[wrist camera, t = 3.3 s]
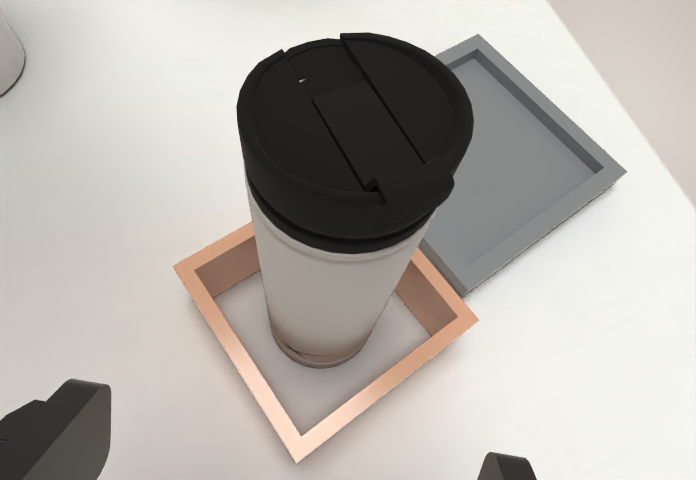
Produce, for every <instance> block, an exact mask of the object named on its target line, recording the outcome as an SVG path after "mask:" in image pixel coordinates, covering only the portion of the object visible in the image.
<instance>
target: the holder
mask: <svg viewBox="0 0 696 480" xmlns="http://www.w3.org/2000/svg"><path fill="white" fill-rule="evenodd" d="M173 268H174V270H175V271H176V273H177V275H178V276H179V278H180V280H181V281H182V283H183V284H184V286H185V288H186V289H187V291H188V293H189V294H190V296H191V298H192V299H193V301H194V302H195V304H196V306H197V307H198V309H199V310H200V312H201V314H202V315H203V317H204V318H205V320H206V322H207V323H208V325H209V326H210V328H211V329H212V331H213V333H214V334H215V336H216V337H217V339H218V341H219V342H220V344H221V345H222V347H223V349H224V350H225V352H226V353H227V355H228V356H229V358H230V360H231V361H232V363H233V364H234V366H235V368H236V369H237V371H238V372H239V374H240V376H241V377H242V379H243V380H244V382H245V383H246V385H247V387H248V388H249V390H250V391H251V393H252V395H253V396H254V398H255V399H256V401H257V403H258V404H259V406H260V407H261V409H262V410H263V412H264V414H265V415H266V417H267V418H268V420H269V422H270V423H271V425H272V426H273V428H274V429H275V431H276V433H277V434H278V436H279V437H280V439H281V441H282V442H283V444H284V445H285V447H286V449H287V450H288V452H289V453H290V455H291V456H292V458H293V460H294V461H295V463H296V464H298V463H299V462H300V461H302V460H303V459H304V458H305V457H307V456H308V455H309V454H310V453H312V452H313V451H314V450H316V449H317V448H318V447H319V446H321V445H322V444H323V443H324V442H326V441H327V440H328V439H330V438H331V437H332V436H333V435H335V434H336V433H337V432H339V431H340V430H341V429H342V428H344V427H345V426H346V425H347V424H349V423H350V422H351V421H353V420H354V419H355V418H356V417H358V416H359V415H360V414H361V413H363V412H364V411H365V410H367V409H368V408H369V407H370V406H372V405H373V404H374V403H376V402H377V401H378V400H379V399H381V398H382V397H383V396H384V395H386V394H387V393H388V392H390V391H391V390H392V389H393V388H395V387H396V386H397V385H398V384H400V383H401V382H402V381H404V380H405V379H406V378H407V377H409V376H410V375H411V374H412V373H414V372H415V371H416V370H418V369H419V368H420V367H421V366H423V365H424V364H425V363H427V362H428V361H429V360H430V359H432V358H433V357H434V356H435V355H437V354H438V353H439V352H441V351H442V350H443V349H444V348H446V347H447V346H448V345H449V344H451V343H452V342H453V341H454V340H456V339H457V338H458V337H459V336H461V335H462V334H463V333H464V332H465V331H467V330H468V329H469V328H470V327H472V326H473V325H474V324H475V323H476V322H478V321H479V319H478V318H477V317H476V316H475V315H474V313H473V312H472V311H471V310H470V309H469V307H468V306H467V305H466V304H465V303H464V302H463V300H462V299H461V298H460V297H459V296H458V294H457V293H456V292H455V291H454V290H453V288H452V287H451V286H450V285H449V284H448V283H447V281H446V280H445V279H444V278H443V277H442V275H441V274H440V273H439V272H438V271H437V269H436V268H435V267H434V266H433V265H432V264H431V262H430V261H429V260H428V259H427V258H426V256H425V255H424V254H423V253H422V252H421V250H420V249H419V248H418V247H417V249H416V250H415V252H414V254H413V256H412V258H411V260H410V261H409V263H408V265H407V267H406V269H405V271H404V272H403V274H402V276H401V278H400V280H399V282H398V284H397V285H396V287H395V289H394V290H395V291H396V292H397V294H398V295H399V296H400V297H401V299H402V300H403V301H404V302H405V304H406V305H407V306H408V308H409V309H410V310H411V311H412V313H413V314H414V315H415V316H416V318H417V319H418V320H419V321H420V323H421V324H422V325H423V326H424V328H425V329H426V330H427V331H428V333H429V334H430V335H431V336H432V337H431V338H430V339H428V340H427V341H426V342H424V343H423V344H422V345H420V346H419V347H418V348H417V349H415V350H414V351H413V352H411V353H410V354H409V355H407V356H406V357H405V358H403V359H402V360H401V361H400V362H398V363H397V364H396V365H394V366H393V367H392V368H390V369H389V370H388V371H386V372H385V373H384V374H383V375H381V376H380V377H379V378H377V379H376V380H375V381H373V382H372V383H371V384H369V385H368V386H367V387H366V388H364V389H363V390H362V391H360V392H359V393H358V394H356V395H355V396H354V397H352V398H351V399H350V400H349V401H347V402H346V403H345V404H343V405H342V406H341V407H339V408H338V409H337V410H335V411H334V412H333V413H332V414H330V415H329V416H328V417H326V418H325V419H324V420H322V421H321V422H320V423H318V424H317V425H316V426H314V427H313V428H312V429H311V430H309V431H308V432H307V433H305V434H304V435H303V436H301V435H300V434H299V432H298V430H297V429H296V427H295V426H294V424H293V423H292V421H291V420H290V418H289V417H288V415H287V413H286V412H285V410H284V409H283V407H282V406H281V404H280V403H279V401H278V399H277V398H276V396H275V395H274V393H273V392H272V390H271V389H270V387H269V386H268V384H267V382H266V381H265V379H264V378H263V376H262V375H261V373H260V372H259V370H258V369H257V367H256V365H255V364H254V362H253V361H252V359H251V358H250V356H249V355H248V353H247V351H246V350H245V348H244V347H243V345H242V344H241V342H240V341H239V339H238V338H237V336H236V334H235V333H234V331H233V330H232V328H231V327H230V325H229V324H228V322H227V320H226V319H225V317H224V316H223V314H222V313H221V311H220V310H219V308H218V307H217V305H216V303H215V302H214V300H213V298H214V297H216V296H218V295H219V294H221V293H223V292H224V291H226V290H227V289H229V288H231V287H232V286H234V285H236V284H237V283H239V282H241V281H242V280H244V279H246V278H247V277H249V276H251V275H252V274H254V273H256V272H257V271H259V270H260V269H261V268H260V262H259V257H258V251H257V245H256V239H255V234H254V228H253V222H250V223H248V224H247V225H245V226H243V227H241V228H240V229H238V230H236V231H234V232H232V233H231V234H229V235H227V236H225V237H224V238H222V239H220V240H218V241H217V242H215V243H213V244H211V245H209V246H208V247H206V248H204V249H202V250H201V251H199V252H197V253H195V254H194V255H192V256H190V257H188V258H186V259H185V260H183V261H181V262H179V263H178V264H176V265H174V266H173Z"/></svg>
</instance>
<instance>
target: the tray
mask: <svg viewBox="0 0 696 480" xmlns="http://www.w3.org/2000/svg"><path fill="white" fill-rule="evenodd" d="M434 57H435V58H437V59H438V60H440V61H441V62H442V63H444V64H445V65H446V66H447V67H448V68H449V69H450V70H451V71H452V72H453V73H454V74H455V75H456V77H457V78H458V79H459V81H460V82H461V84H462V85H463V86H464V88H465V90H466V92H467V94H468V97H469V99H470V101H471V104H472V110H473V116H474V127H473V135H472V139H471V142H470V144H469V146H468V149H467V151H466V153H465V155H464V157H463V159H462V161H461V163H460V165H459V166H458V168H457V170H456V172H455V174H454V176H453V178H454V183H455V185H454V188H453V190H452V192H451V194H450V196H449V197H448V199H447V200H445V201H444V202H443V203H442V204H441V205H440V206H439V207H438V209H437V212H436V214H435V216H434V217H433V219H432V220H431V222H430V224H429V227H428V228H427V230H426V232H425V234H424V236H423V238H422V239H421V241H420V243H419V245H418V248H419V249H420V250H421V252H422V253H423V254H424V255H425V256H426V258H427V259H428V260H429V261H430V262H431V264H432V265H433V266H434V267H435V268H436V269H437V271H438V272H439V273H440V274H441V275H442V277H443V278H444V279H445V280H446V281H447V283H448V284H449V285H450V286H451V287H452V288H453V290H454V291H455V292H456V293H457V294H458V296H459V297H460V298H463V297H464V296H465V295H467V294H468V293H469V292H471V291H472V290H473V289H475V288H476V287H477V286H479V285H480V284H481V283H483V282H484V281H485V280H487V279H488V278H489V277H491V276H492V275H493V274H495V273H496V272H497V271H499V270H500V269H501V268H503V267H504V266H505V265H507V264H508V263H509V262H511V261H512V260H513V259H515V258H516V257H517V256H519V255H520V254H522V253H523V252H524V251H526V250H527V249H528V248H530V247H531V246H532V245H534V244H535V243H536V242H538V241H539V240H540V239H542V238H543V237H544V236H546V235H547V234H548V233H550V232H551V231H552V230H554V229H555V228H556V227H558V226H559V225H560V224H562V223H563V222H564V221H566V220H567V219H568V218H570V217H571V216H572V215H574V214H575V213H576V212H578V211H579V210H580V209H582V208H583V207H584V206H586V205H587V204H588V203H590V202H591V201H592V200H594V199H595V198H596V197H598V196H599V195H600V194H602V193H603V192H604V191H606V190H607V189H608V188H610V187H611V186H612V185H613V184H614V183H615V182H616V181H618V180H619V179H620V178H621V177H622V176H623V175H624V174H625V173H626V172H627V171H626V170H625V169H624V168H623V167H622V166H620V165H619V164H618V163H617V162H616V161H615V160H614V159H613V158H612V157H611V156H610V155H609V154H607V153H606V152H605V151H604V150H603V149H602V148H601V147H600V146H599V145H598V144H597V143H596V142H595V141H593V140H592V139H591V138H590V137H589V136H588V135H587V134H586V133H585V132H584V131H583V130H582V129H581V128H579V127H578V126H577V125H576V124H575V123H574V122H573V121H572V120H571V119H570V118H569V117H568V116H566V115H565V114H564V113H563V112H562V111H561V110H560V109H559V108H558V107H557V106H556V105H555V104H554V103H552V102H551V101H550V100H549V99H548V98H547V97H546V96H545V95H544V94H543V93H542V92H541V91H540V90H538V89H537V88H536V87H535V86H534V85H533V84H532V83H531V82H530V81H529V80H528V79H527V78H525V77H524V76H523V75H522V74H521V73H520V72H519V71H518V70H517V69H516V68H515V67H514V66H513V65H511V64H510V63H509V62H508V61H507V60H506V59H505V58H504V57H503V56H502V55H501V54H500V53H499V52H497V51H496V50H495V49H494V48H493V47H492V46H491V45H490V44H489V43H488V42H487V41H486V40H484V39H483V38H482V37H481V36H480V35H479V34H477V35H475V36H473V37H471V38H469V39H467V40H465V41H463V42H461V43H460V44H458V45H456V46H454V47H452V48H450V49H448V50H446V51H444V52H442V53H440V54H438V55H436V56H434Z"/></svg>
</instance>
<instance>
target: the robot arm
mask: <svg viewBox="0 0 696 480" xmlns="http://www.w3.org/2000/svg"><path fill="white" fill-rule="evenodd" d="M24 59H25V53H24V49H23V45H22V44H21V42H20V41H19V39H18V38H17V36H16V34H15V33H14V31H13V30H12V28H11V27H10V25H9V23H8V22H7V20H6V19H5V17H4V15H3V14H2V12H1V11H0V95H1V94H3V93H4V92H5V91H6V90H7V89H8V88H9V87H11V86H12V85H13V84H14V82H15V81H16V79H17V78H18V77H19V75H20V74H21V71H22V68H23V66H24ZM110 436H111V389H110V386H109V385H106V384H100V383H94V382H88V381H82V380H77V379H69V380H68V381H66V382H65V383H64V384H63V385H62V386H61V387H60V388H59V389H58V390H57V391H56V392H55V393H54V394H53V395H52V396H51V397H50V398H49V399H48V400H47V401H46V402H45V401H39V400H33V401H32V402H30V403H28V404H26V405H24V406H22V407H21V408H19V409H17V410H15V411H13V412H11V413H9V414H8V415H6V416H5V417H4V418H3V419H2V420H1V421H0V480H97V478H98V477H99V475H100V473H101V471H102V469H103V467H104V465H105V462H106V460H107V457H108V453H109V449H110ZM477 480H537V479H536V477H535V474H534V472H533V470H532V467H531V465H530V463H529V461H528V460H527V459H526V458H523V457H517V456H511V455H505V454H499V453H494V452H489V453H488V454H487V455H486V457H485V459H484V462H483V465H482V468H481V471H480V474H479V476H478V479H477Z"/></svg>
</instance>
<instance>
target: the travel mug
mask: <svg viewBox="0 0 696 480" xmlns="http://www.w3.org/2000/svg"><path fill="white" fill-rule="evenodd" d="M237 122H238V129H239V135H240V141H241V147H242V153H243V159H244V172H245V182H246V187H247V192H248V199H249V205H250V211H251V217H252V222H253V228H254V234H255V239H256V245H257V251H258V257H259V262H260V268H261V274H262V279H263V285H264V291H265V297H266V302H267V308H268V314H269V319H270V325H271V330H272V333H273V336H274V338H275V340H276V342H277V344H278V346H279V347H280V348H281V349H282V351H283V352H284V353H285V354H286V355H287V356H289V357H290V358H291V359H293V360H294V361H296V362H298V363H300V364H302V365H305V366H309V367H314V368H327V367H334V366H337V365H339V364H342V363H344V362H346V361H348V360H349V359H351V358H352V357H353V356H355V355H356V354H357V353H358V352H359V351H360V349H361V348H362V347H363V345H364V344H365V342H366V341H367V339H368V337H369V335H370V333H371V331H372V329H373V328H374V326H375V324H376V322H377V320H378V318H379V317H380V315H381V313H382V311H383V309H384V307H385V306H386V304H387V302H388V300H389V298H390V296H391V295H392V293H393V291H394V289H395V287H396V285H397V284H398V282H399V280H400V278H401V276H402V274H403V272H404V271H405V269H406V267H407V265H408V263H409V261H410V260H411V258H412V256H413V254H414V252H415V250H416V249H417V247H418V245H419V243H420V241H421V239H422V238H423V236H424V234H425V232H426V230H427V228H428V227H429V224H430V222H431V220H432V219H433V217H434V216H435V214H436V212H437V209H438V207H439V206H440V205H441V204H442V203H443V202H444V201H445V200H447V199H448V197H449V196H450V194H451V192H452V190H453V188H454V185H455V183H454V178H453V176H454V174H455V172H456V170H457V168H458V166H459V165H460V163H461V161H462V159H463V157H464V155H465V153H466V151H467V149H468V146H469V144H470V142H471V139H472V135H473V127H474V116H473V110H472V104H471V101H470V99H469V97H468V94H467V92H466V90H465V88H464V86H463V85H462V84H461V82H460V81H459V79H458V78H457V77H456V75H455V74H454V73H453V72H452V71H451V70H450V69H449V68H448V67H447V66H446V65H445V64H444V63H442V62H441V61H440V60H438V59H437V58H435V57H434V56H433V55H431V54H430V53H428V52H427V51H425V50H423V49H421V48H419V47H416V46H414V45H412V44H410V43H408V42H405V41H402V40H399V39H396V38H392V37H389V36H384V35H379V34H374V33H340V39H330V38H326V39H321V40H316V41H311V42H307V43H304V44H301V45H298V46H295V47H292V48H290V49H288V50H287V51H286V52H285V53H284V51H283V50H282V49H281V50H279V51H278V52H276V53H274V54H272V55H271V56H269V57H267V58H266V59H264V60H262V61H261V62H259V63H258V64H257V65H256V66H255V68H254V69H253V70H252V71H251V72H250V74H249V75H248V76H247V78H246V80H245V82H244V84H243V86H242V88H241V90H240V93H239V97H238V102H237Z"/></svg>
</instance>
